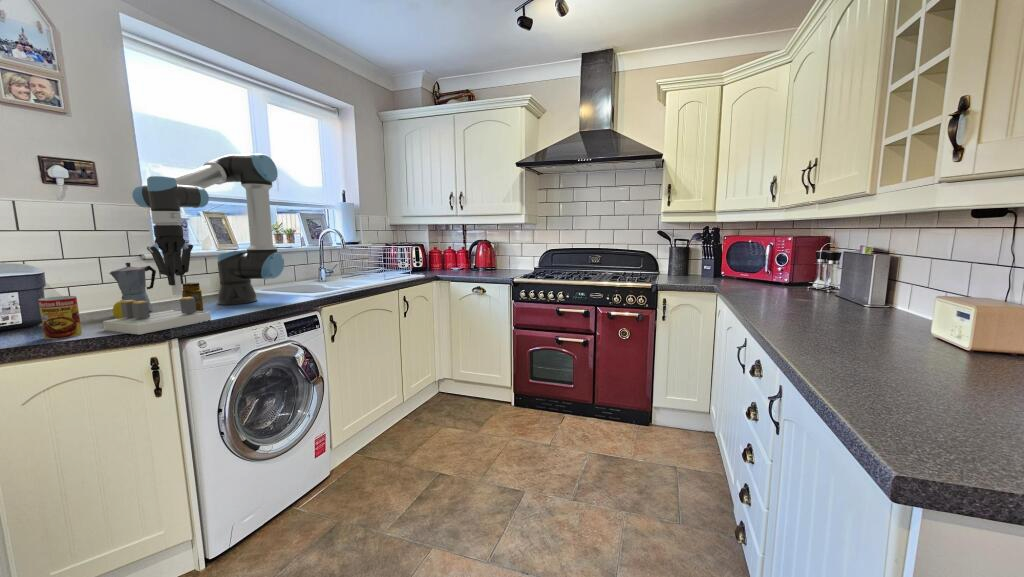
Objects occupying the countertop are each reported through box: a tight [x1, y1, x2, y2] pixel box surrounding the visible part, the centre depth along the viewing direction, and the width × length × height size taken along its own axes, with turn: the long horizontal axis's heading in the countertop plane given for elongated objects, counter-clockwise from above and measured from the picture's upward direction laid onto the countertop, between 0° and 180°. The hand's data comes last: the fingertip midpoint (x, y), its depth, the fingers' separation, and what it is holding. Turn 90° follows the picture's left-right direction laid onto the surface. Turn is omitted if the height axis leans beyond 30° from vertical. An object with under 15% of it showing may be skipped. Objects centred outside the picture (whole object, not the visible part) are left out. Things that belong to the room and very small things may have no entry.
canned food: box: [37, 295, 83, 340], centre depth 127 cm, size 8×8×12 cm
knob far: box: [121, 300, 136, 318], centre depth 139 cm, size 3×3×6 cm
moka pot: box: [108, 262, 157, 312], centre depth 165 cm, size 10×15×20 cm, turn 166°
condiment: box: [181, 282, 204, 311], centre depth 161 cm, size 7×8×12 cm
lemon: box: [112, 299, 125, 319], centre depth 147 cm, size 6×6×8 cm
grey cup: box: [132, 301, 151, 319], centre depth 137 cm, size 3×3×6 cm
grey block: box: [179, 297, 196, 314], centre depth 145 cm, size 3×3×6 cm
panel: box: [103, 308, 212, 336], centre depth 142 cm, size 22×18×3 cm
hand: (177, 294), depth 142 cm, fingers closed
